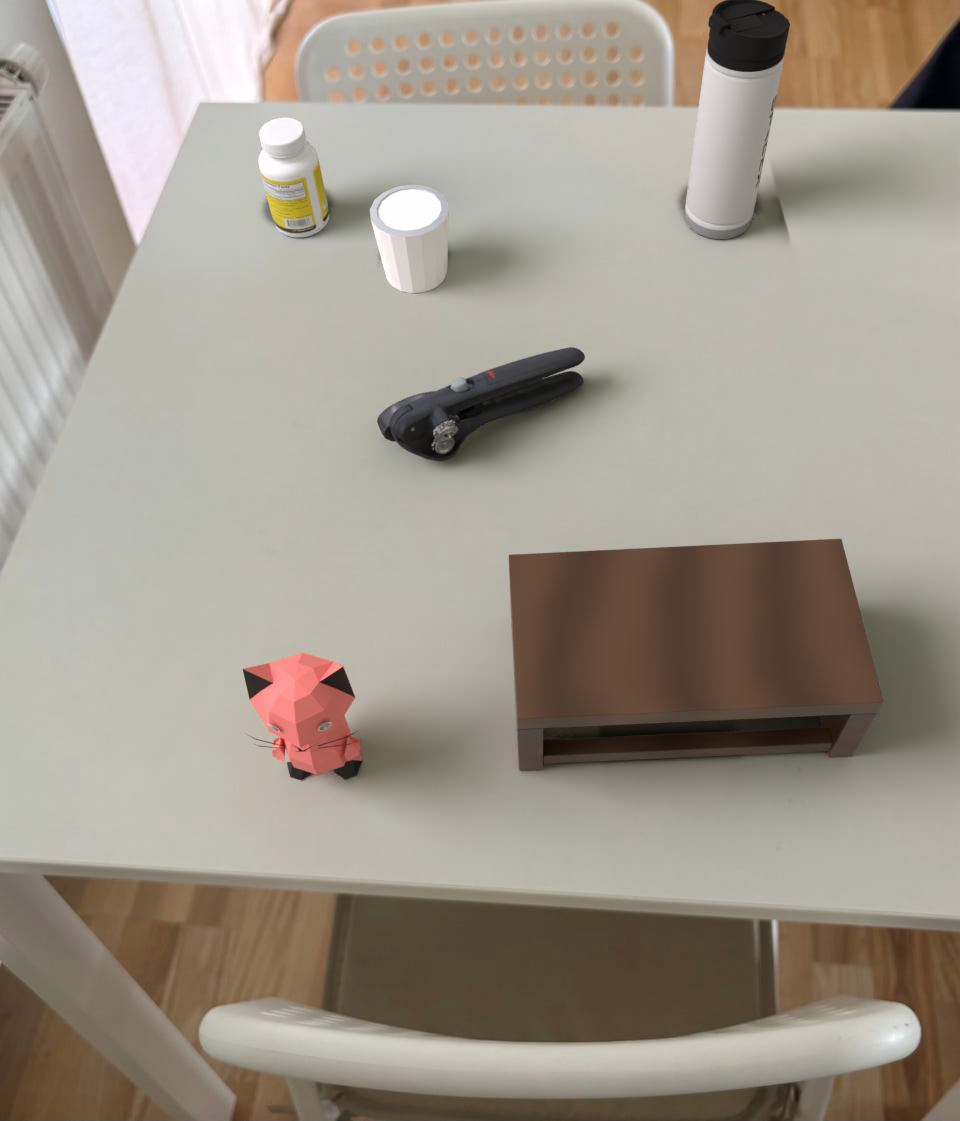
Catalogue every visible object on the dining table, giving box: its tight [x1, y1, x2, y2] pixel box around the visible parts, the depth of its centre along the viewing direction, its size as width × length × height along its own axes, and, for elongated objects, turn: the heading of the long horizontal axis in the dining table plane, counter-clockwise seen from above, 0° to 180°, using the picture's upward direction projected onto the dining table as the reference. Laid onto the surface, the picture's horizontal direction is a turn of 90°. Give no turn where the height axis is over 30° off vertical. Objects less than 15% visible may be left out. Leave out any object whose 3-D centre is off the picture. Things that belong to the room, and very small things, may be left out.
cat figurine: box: [242, 652, 363, 781], centre depth 69 cm, size 7×7×12 cm
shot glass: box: [369, 184, 450, 294], centre depth 98 cm, size 7×7×7 cm
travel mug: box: [684, 0, 791, 240], centre depth 94 cm, size 6×7×20 cm
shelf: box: [508, 538, 884, 772], centre depth 73 cm, size 22×12×8 cm, turn 92°
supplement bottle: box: [258, 117, 330, 238], centre depth 101 cm, size 5×5×10 cm
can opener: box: [376, 346, 586, 462], centre depth 88 cm, size 18×7×6 cm, turn 115°
